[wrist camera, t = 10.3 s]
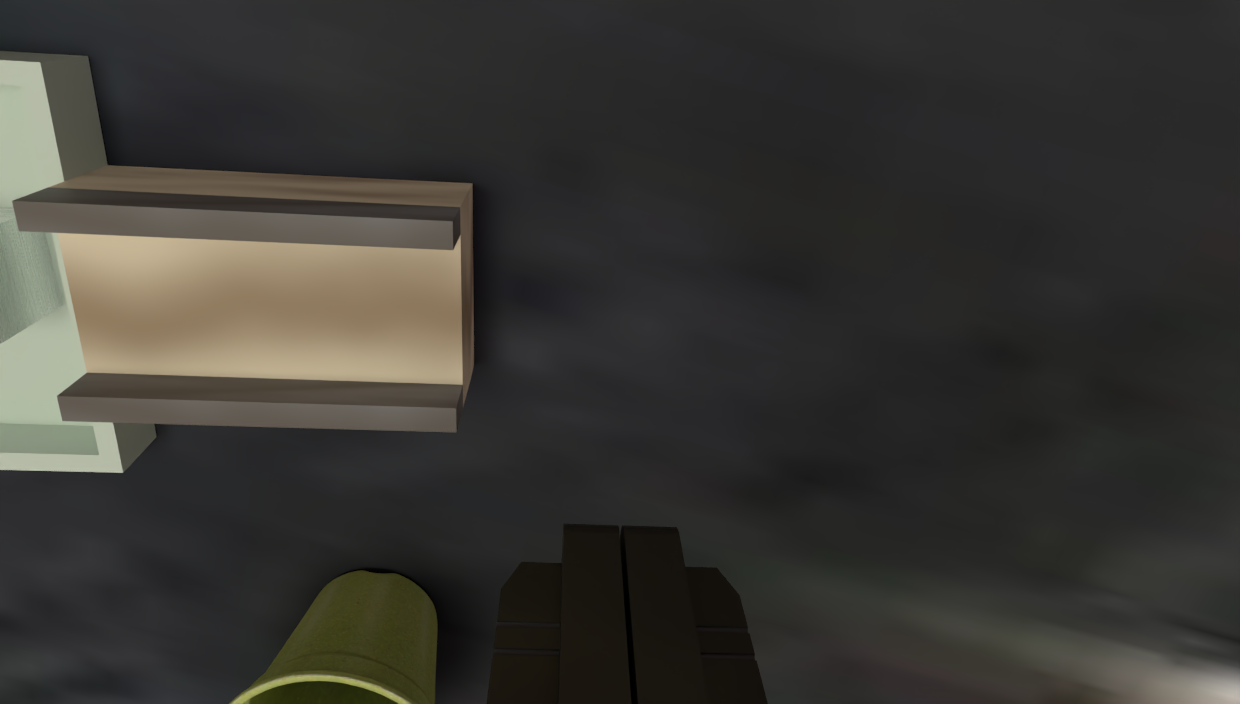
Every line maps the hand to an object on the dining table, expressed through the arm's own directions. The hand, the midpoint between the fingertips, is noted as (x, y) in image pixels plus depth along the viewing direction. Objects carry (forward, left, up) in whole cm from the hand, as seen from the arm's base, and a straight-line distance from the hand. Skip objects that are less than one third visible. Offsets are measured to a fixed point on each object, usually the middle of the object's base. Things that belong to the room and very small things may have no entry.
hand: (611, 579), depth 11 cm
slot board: (+4, -12, -25) cm, 27 cm away
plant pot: (+22, -10, -25) cm, 34 cm away
